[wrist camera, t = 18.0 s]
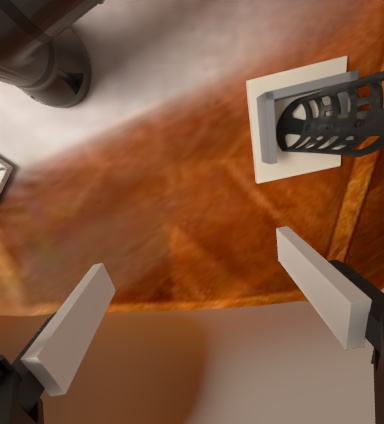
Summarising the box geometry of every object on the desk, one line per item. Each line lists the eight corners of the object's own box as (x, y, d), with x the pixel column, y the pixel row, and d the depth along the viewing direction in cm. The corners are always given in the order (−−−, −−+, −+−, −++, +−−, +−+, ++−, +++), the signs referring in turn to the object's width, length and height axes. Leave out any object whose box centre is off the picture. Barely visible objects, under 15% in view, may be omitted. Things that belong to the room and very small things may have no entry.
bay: (246, 82, 40) (255, 72, 34) (343, 57, 38) (369, 43, 33) (255, 182, 47) (265, 188, 42) (337, 165, 46) (357, 168, 40)
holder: (281, 96, 39) (379, 59, 21) (314, 97, 40) (437, 63, 22) (272, 151, 44) (348, 161, 25) (302, 151, 44) (398, 161, 26)
